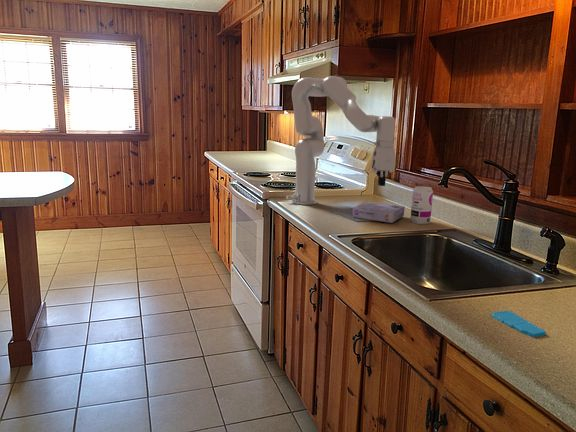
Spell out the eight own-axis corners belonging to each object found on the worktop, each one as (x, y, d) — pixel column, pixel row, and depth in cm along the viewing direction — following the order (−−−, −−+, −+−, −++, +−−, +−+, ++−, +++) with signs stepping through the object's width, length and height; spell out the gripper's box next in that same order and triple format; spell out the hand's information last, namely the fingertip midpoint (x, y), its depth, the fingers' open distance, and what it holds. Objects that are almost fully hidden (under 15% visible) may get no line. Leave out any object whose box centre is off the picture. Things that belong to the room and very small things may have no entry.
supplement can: (431, 221, 208) (434, 187, 205) (428, 225, 201) (431, 189, 198) (412, 219, 212) (415, 185, 208) (408, 223, 204) (411, 188, 201)
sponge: (525, 335, 102) (548, 330, 104) (488, 312, 114) (510, 308, 115) (524, 342, 103) (548, 336, 104) (488, 318, 114) (510, 313, 115)
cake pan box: (363, 211, 224) (349, 217, 209) (363, 200, 223) (350, 205, 208) (404, 217, 216) (393, 223, 200) (405, 205, 215) (394, 211, 199)
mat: (357, 222, 203) (357, 220, 203) (330, 211, 222) (330, 210, 222) (392, 218, 211) (392, 217, 211) (363, 208, 230) (364, 207, 230)
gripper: (375, 145, 207) (372, 187, 212) (403, 145, 214) (399, 186, 218) (365, 144, 214) (362, 184, 218) (392, 143, 221) (389, 183, 225)
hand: (381, 185), depth 218 cm, fingers closed
